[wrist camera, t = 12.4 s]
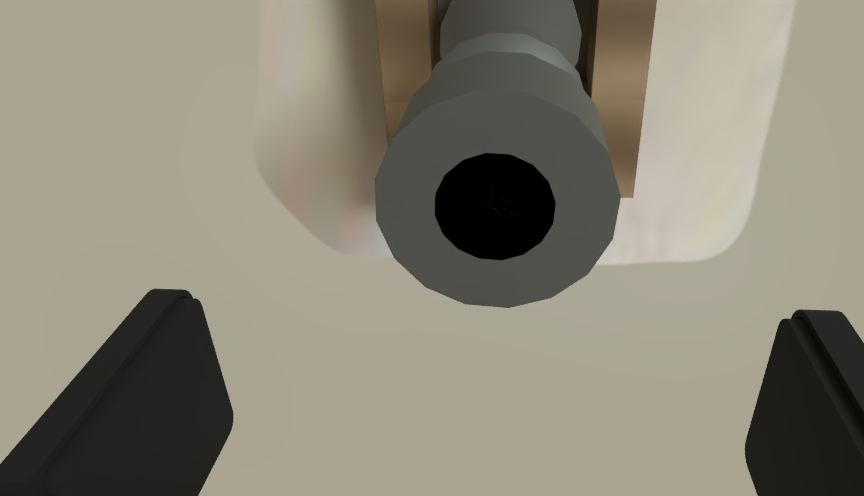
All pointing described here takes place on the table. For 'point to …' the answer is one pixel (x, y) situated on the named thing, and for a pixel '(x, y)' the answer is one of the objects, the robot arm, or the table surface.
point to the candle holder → (500, 160)
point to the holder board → (605, 78)
